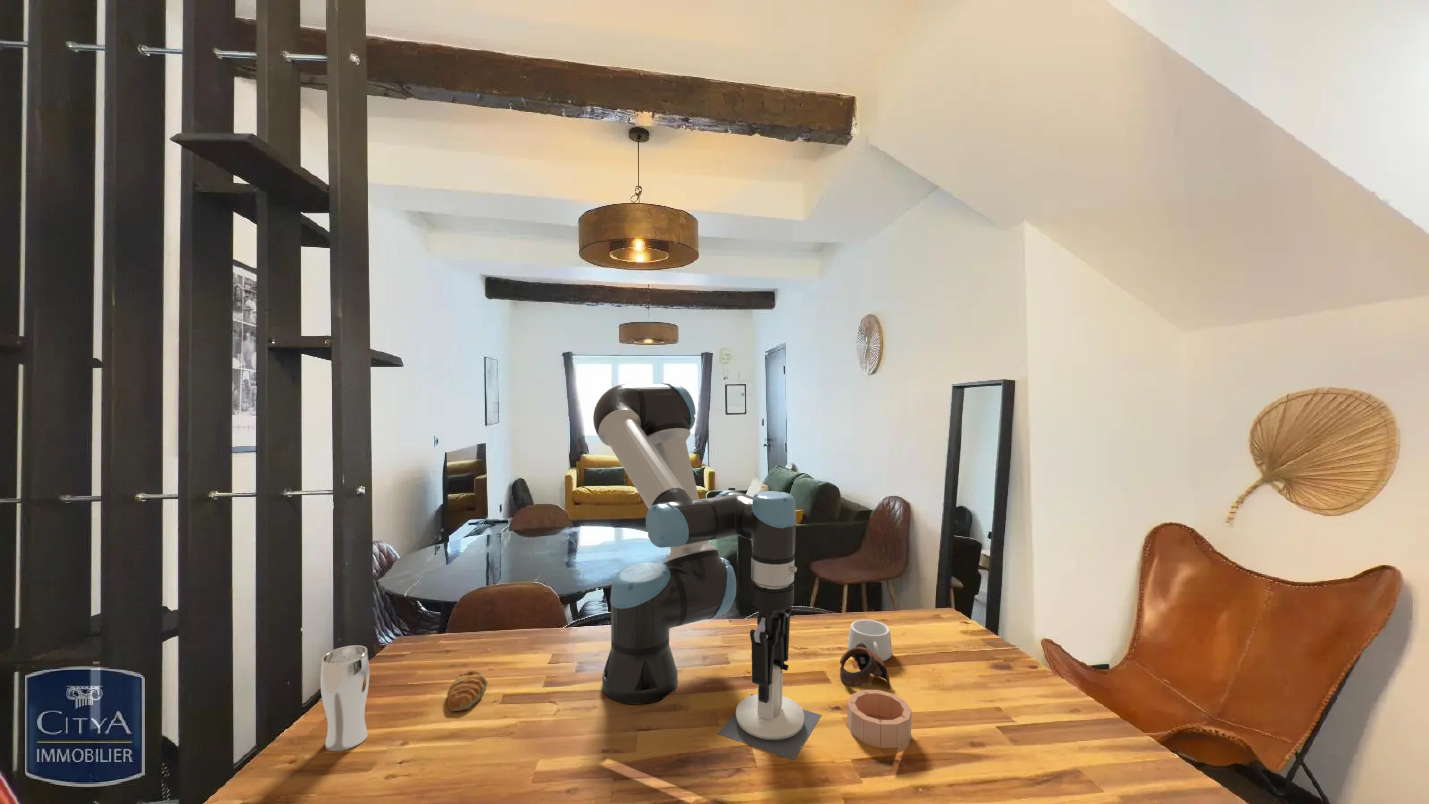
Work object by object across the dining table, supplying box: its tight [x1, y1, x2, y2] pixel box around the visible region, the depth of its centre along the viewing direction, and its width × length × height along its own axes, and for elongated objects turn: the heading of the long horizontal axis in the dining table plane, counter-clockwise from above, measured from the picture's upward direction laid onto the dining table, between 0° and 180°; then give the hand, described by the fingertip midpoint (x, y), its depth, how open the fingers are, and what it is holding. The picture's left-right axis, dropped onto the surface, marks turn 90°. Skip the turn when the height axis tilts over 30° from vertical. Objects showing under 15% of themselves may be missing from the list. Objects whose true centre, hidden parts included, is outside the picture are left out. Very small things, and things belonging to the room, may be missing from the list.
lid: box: [735, 664, 804, 740], centre depth 102 cm, size 12×12×9 cm
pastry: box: [446, 669, 489, 712], centre depth 111 cm, size 9×7×4 cm
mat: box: [717, 693, 823, 761], centre depth 102 cm, size 14×14×1 cm
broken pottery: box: [839, 643, 891, 690], centre depth 118 cm, size 12×10×8 cm
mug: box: [847, 619, 893, 662], centre depth 129 cm, size 12×10×6 cm
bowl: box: [846, 689, 913, 754], centre depth 101 cm, size 10×10×5 cm
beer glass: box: [320, 644, 370, 752], centre depth 98 cm, size 7×7×15 cm
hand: (769, 710), depth 102 cm, fingers closed on lid, 3 cm apart
